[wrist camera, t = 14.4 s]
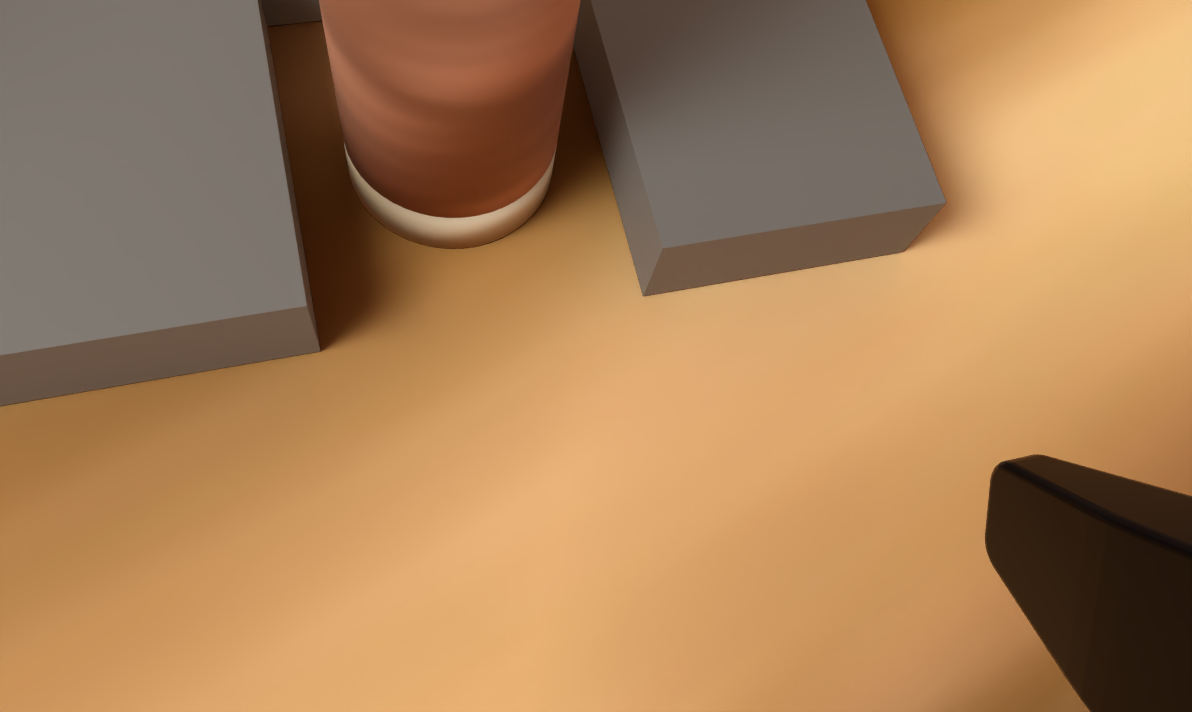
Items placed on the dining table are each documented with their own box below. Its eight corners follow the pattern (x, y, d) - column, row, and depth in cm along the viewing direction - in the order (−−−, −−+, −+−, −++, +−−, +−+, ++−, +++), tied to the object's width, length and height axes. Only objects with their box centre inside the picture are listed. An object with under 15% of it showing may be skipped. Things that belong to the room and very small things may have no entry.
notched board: (902, 251, 27) (946, 202, 24) (-12, 408, 22) (-66, 366, 20) (737, -190, 31) (759, -265, 29) (-39, -134, 27) (-84, -217, 25)
